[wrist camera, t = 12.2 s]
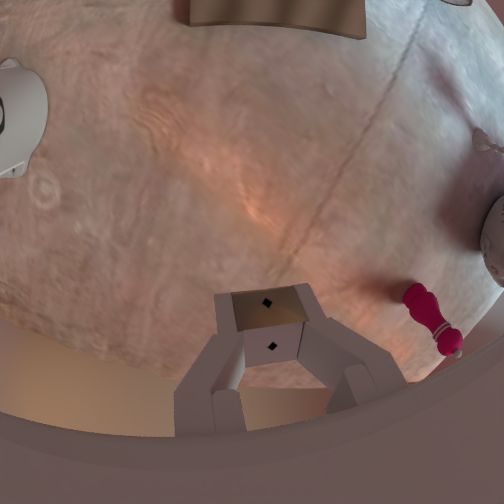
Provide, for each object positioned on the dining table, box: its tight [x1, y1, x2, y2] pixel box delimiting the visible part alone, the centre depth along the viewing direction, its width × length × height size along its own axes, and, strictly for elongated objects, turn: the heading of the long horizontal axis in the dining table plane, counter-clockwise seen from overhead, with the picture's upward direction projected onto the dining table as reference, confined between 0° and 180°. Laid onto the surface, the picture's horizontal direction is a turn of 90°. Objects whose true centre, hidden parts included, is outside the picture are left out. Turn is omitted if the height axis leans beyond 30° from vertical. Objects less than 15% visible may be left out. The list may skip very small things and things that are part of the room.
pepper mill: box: [403, 284, 463, 358], centre depth 47 cm, size 7×7×20 cm
